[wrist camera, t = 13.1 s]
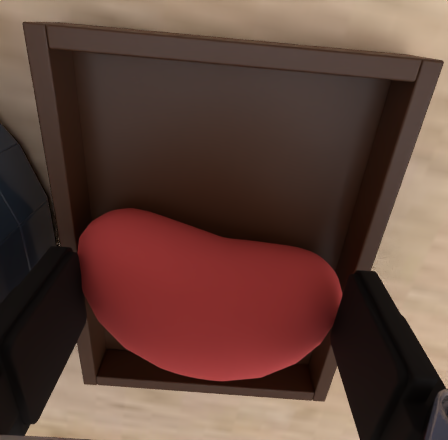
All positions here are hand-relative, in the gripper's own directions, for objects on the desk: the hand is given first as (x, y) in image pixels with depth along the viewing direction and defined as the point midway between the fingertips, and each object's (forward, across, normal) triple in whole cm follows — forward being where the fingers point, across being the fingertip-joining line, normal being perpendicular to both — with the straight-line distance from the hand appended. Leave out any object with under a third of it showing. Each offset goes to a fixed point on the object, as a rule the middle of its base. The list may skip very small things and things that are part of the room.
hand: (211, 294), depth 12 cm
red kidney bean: (+3, 0, +1) cm, 3 cm away
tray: (+4, 0, 0) cm, 4 cm away
